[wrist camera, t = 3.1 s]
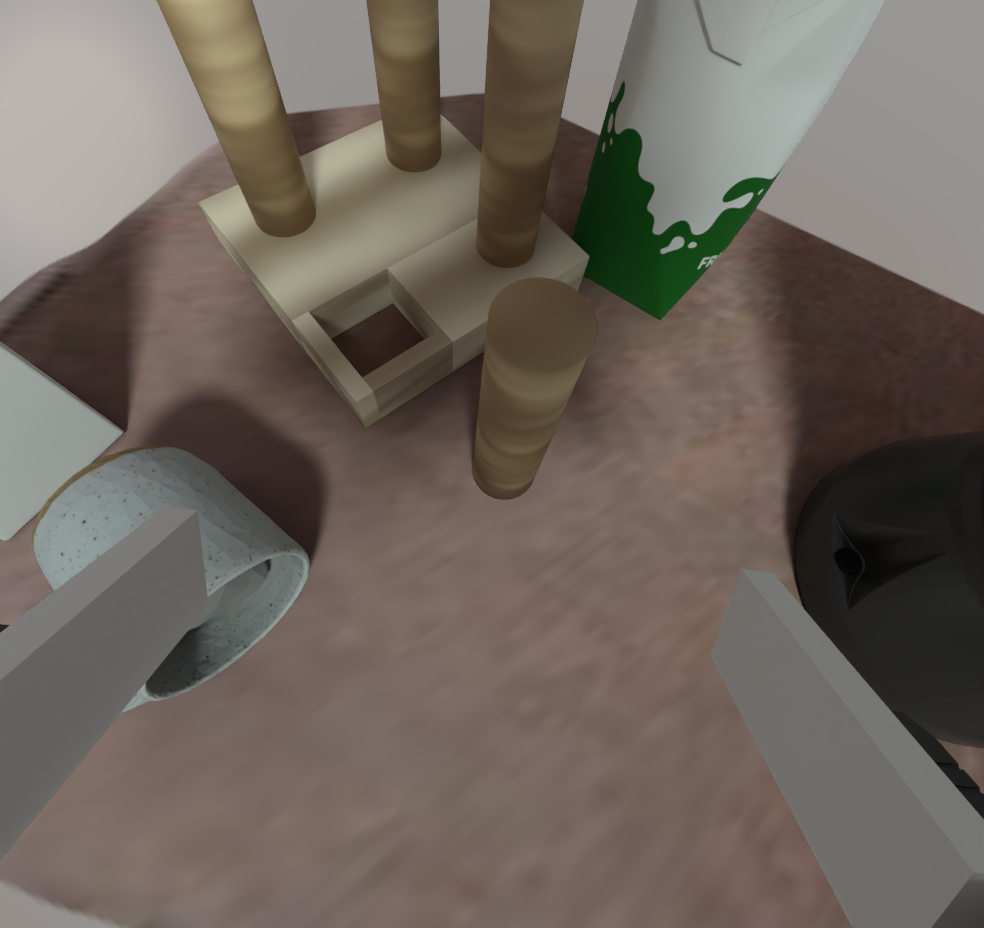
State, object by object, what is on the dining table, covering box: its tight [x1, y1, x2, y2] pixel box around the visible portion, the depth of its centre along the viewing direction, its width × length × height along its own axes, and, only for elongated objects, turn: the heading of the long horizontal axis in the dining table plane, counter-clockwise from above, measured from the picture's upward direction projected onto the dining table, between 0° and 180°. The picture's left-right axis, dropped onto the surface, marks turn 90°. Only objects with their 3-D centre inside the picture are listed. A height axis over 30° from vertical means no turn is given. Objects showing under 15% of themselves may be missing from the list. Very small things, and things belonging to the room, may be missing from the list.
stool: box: [157, 0, 590, 428], centre depth 25 cm, size 16×16×16 cm
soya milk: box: [572, 0, 885, 320], centre depth 25 cm, size 9×9×20 cm
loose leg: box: [472, 277, 597, 500], centre depth 22 cm, size 3×3×13 cm
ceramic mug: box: [32, 445, 310, 713], centre depth 21 cm, size 11×8×8 cm
